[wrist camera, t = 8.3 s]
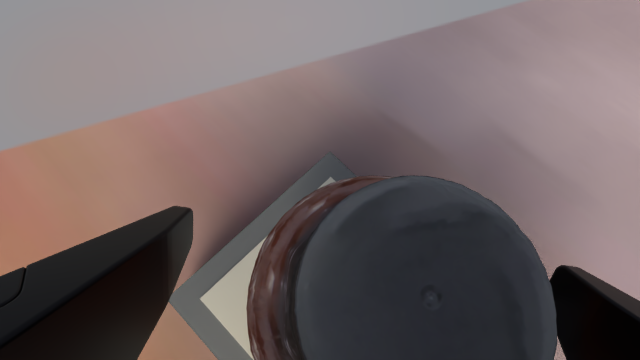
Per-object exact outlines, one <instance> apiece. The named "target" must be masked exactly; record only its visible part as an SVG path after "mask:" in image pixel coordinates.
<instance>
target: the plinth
mask: <svg viewBox="0 0 640 360" xmlns="http://www.w3.org/2000/svg"><path fill="white" fill-rule="evenodd" d="M354 177H357V176H356V175H354V174H353V173H352V172H351V171H350V170H349V169H348V168H347V167H346V166H345V165H344V164H343V163H342V162H341V161H340V160H339V159H338V158H336V157H335V156H334V155H333V154H332V153H331V152H329V153H328V154H326V155H325V156H324V157H323V158H322V159H321V160H320V161H319V162H318V163H316V164H315V165H314V166H313V167H312V168H311V169H310V170H309V171H308V172H307V173H305V174H304V175H303V176H302V177H301V178H300V179H299V180H298V181H297V182H295V183H294V184H293V185H292V186H291V187H290V188H289V189H288V190H287V191H285V192H284V193H283V194H282V195H281V196H280V197H279V198H278V199H277V200H276V201H274V202H273V203H272V204H271V205H270V206H269V207H268V208H267V209H266V210H264V211H263V212H262V213H261V214H260V215H259V216H258V217H257V218H256V219H254V220H253V221H252V222H251V223H250V224H249V225H248V226H247V227H246V228H244V229H243V230H242V231H241V232H240V233H239V234H238V235H237V236H236V237H235V238H233V239H232V240H231V241H230V242H229V243H228V244H227V245H226V246H225V247H223V248H222V249H221V250H220V251H219V252H218V253H217V254H216V255H215V256H213V257H212V258H211V259H210V260H209V261H208V262H207V263H206V264H205V265H204V266H202V267H201V268H200V269H199V270H198V271H197V272H196V273H195V274H194V275H192V276H191V277H190V278H189V279H188V280H187V281H186V282H185V283H184V284H182V285H181V286H180V287H179V288H178V289H177V290H176V291H175V292H174V293H172V295H171V297H170V300H169V302H170V304H171V305H172V306H173V307H174V308H175V310H176V311H177V312H178V313H179V314H180V315H181V317H182V318H183V319H184V320H185V321H186V322H187V324H188V325H189V326H190V327H191V328H192V329H193V331H194V332H195V333H196V334H197V335H198V336H199V338H200V339H201V340H202V341H203V342H204V343H205V345H206V346H207V347H208V348H209V349H210V351H211V352H212V353H213V354H214V355H215V356H216V358H217V359H218V360H254V358H253V356H252V353H251V351H250V342H249V336H248V326H247V310H246V307H247V297H248V287H249V283H250V279H251V275H252V272H253V268H254V265H255V261H256V259H257V257H258V253H259V251H260V249H261V247H262V244H263V242H264V241H265V239H266V238H267V236H268V234H269V233H270V232H271V230H272V229H273V228H274V226H275V225H276V224H277V223H278V221H279V220H280V219H281V217H282V216H283V215H284V214H285V213H286V212H287V211H289V210H290V209H291V208H292V207H293V206H294V205H295V204H296V203H297V202H299V201H300V200H301V199H302V198H304V197H305V196H307V195H309V194H310V193H312V192H314V191H315V190H317V189H319V188H321V187H324V186H326V185H328V184H330V183H333V182H336V181H339V180H343V179H348V178H354Z"/></svg>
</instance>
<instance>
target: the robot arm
mask: <svg viewBox="0 0 640 360" xmlns="http://www.w3.org/2000/svg"><path fill="white" fill-rule="evenodd" d="M192 240H193V211H192V209H191V208H187V207H180V206H173V207H170V208H168V209H165V210H163V211H160V212H158V213H155V214H153V215H150V216H148V217H145V218H143V219H140V220H138V221H136V222H133V223H131V224H128V225H126V226H123V227H121V228H118V229H116V230H113V231H111V232H108V233H106V234H104V235H101V236H99V237H96V238H94V239H91V240H89V241H86V242H84V243H81V244H79V245H76V246H74V247H71V248H69V249H67V250H64V251H62V252H59V253H57V254H54V255H52V256H49V257H47V258H44V259H42V260H39V261H37V262H34V263H32V264H30V265H28V266H27V267H26V268H24V267H22V268H19V269H17V270H15V271H12V272H10V273H7V274H5V275H2V276H0V360H137V359H138V357H139V355H140V353H141V351H142V350H143V348H144V346H145V344H146V342H147V340H148V339H149V337H150V335H151V333H152V331H153V330H154V328H155V326H156V324H157V322H158V320H159V319H160V317H161V315H162V313H163V311H164V310H165V308H166V306H167V304H168V302H169V300H170V297H171V295H172V293H173V290H174V288H175V285H176V283H177V280H178V278H179V275H180V273H181V270H182V268H183V265H184V263H185V260H186V258H187V255H188V253H189V250H190V248H191V245H192ZM549 282H550V284H551V287H552V292H553V298H554V303H555V309H556V326H557V336H558V339H559V342H560V344H561V347H562V350H563V352H564V355H565V357H566V360H640V301H639V300H637V299H635V298H633V297H631V296H630V295H628V294H626V293H624V292H622V291H621V290H619V289H617V288H615V287H613V286H611V285H610V284H608V283H606V282H604V281H602V280H601V279H599V278H597V277H595V276H593V275H591V274H590V273H588V272H586V271H584V270H582V269H581V268H578V267H573V266H566V265H561V266H559V267H557V268H556V270H555V271H554V273H553V275H552V277H551V279H550V281H549Z"/></svg>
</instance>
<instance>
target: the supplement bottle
mask: <svg viewBox="0 0 640 360" xmlns="http://www.w3.org/2000/svg"><path fill="white" fill-rule="evenodd" d="M246 310H247V326H248V336H249V342H250V351H251V353H252V356H253V358H254V360H554V356H555V352H556V346H557V326H556V309H555V303H554V298H553V292H552V287H551V284H550V282H549V279H548V276H547V272H546V269H545V267H544V265H543V264H542V262H541V260H540V258H539V256H538V253H537V251H536V249H535V248H534V246H533V244H532V243H531V241H530V240H529V239H528V237H527V236H526V235H525V234H524V233H523V232H522V231H521V230H520V228H519V227H518V225H517V224H516V223H515V222H514V221H513V220H512V219H511V218H510V217H509V216H508V215H507V214H506V213H505V212H504V211H503V210H502V209H501V208H500V207H499V206H497V205H496V204H495V203H493V202H492V201H491V200H489V199H486V198H484V197H483V196H482V195H480V194H479V193H477V192H475V191H473V190H471V189H469V188H467V187H465V186H463V185H461V184H458V183H455V182H452V181H446V180H444V179H440V178H434V177H428V176H414V175H413V176H400V177H387V176H360V177H354V178H348V179H343V180H339V181H336V182H333V183H330V184H328V185H326V186H324V187H321V188H319V189H317V190H315V191H314V192H312V193H310V194H309V195H307V196H305V197H304V198H302V199H301V200H300V201H299V202H297V203H296V204H295V205H294V206H293V207H292V208H291V209H290V210H289V211H287V212H286V213H285V214H284V215H283V216H282V217H281V219H280V220H279V221H278V223H277V224H276V225H275V226H274V228H273V229H272V230H271V232H270V233H269V234H268V236H267V238H266V239H265V241H264V242H263V244H262V247H261V249H260V251H259V253H258V257H257V259H256V261H255V265H254V268H253V272H252V275H251V279H250V283H249V287H248V297H247V307H246Z"/></svg>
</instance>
